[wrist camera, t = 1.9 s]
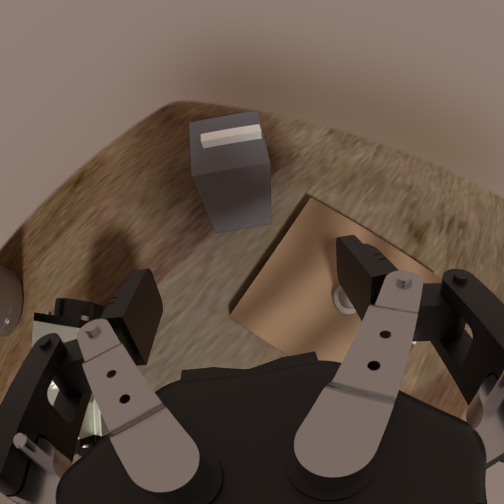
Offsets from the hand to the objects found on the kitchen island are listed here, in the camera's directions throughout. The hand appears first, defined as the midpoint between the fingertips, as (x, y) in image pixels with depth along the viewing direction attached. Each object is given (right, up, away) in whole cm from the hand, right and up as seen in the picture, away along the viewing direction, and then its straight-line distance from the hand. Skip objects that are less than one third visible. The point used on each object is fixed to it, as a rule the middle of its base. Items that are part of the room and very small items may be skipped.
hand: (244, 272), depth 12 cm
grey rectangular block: (-1, +6, +18) cm, 19 cm away
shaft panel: (+9, -4, +14) cm, 17 cm away
